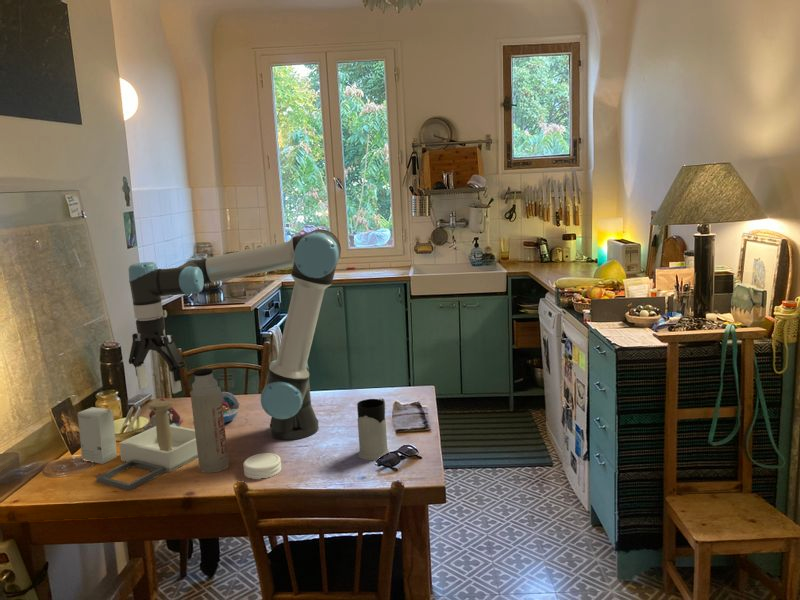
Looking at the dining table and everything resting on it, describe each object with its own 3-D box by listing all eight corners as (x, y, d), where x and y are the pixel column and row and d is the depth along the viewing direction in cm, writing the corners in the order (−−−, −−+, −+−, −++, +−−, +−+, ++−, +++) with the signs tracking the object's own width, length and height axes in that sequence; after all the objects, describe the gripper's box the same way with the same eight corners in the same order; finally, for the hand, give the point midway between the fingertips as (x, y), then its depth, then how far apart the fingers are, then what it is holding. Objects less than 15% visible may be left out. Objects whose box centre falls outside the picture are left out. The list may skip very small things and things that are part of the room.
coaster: (265, 461, 192) (264, 449, 192) (289, 469, 186) (288, 457, 185) (236, 474, 185) (235, 462, 184) (260, 483, 178) (259, 471, 178)
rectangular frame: (165, 472, 188) (164, 466, 188) (129, 490, 178) (128, 485, 178) (133, 464, 194) (132, 459, 194) (96, 482, 184) (96, 477, 184)
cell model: (204, 428, 219) (201, 400, 217) (216, 415, 231) (212, 388, 229) (235, 427, 218) (232, 399, 217) (245, 414, 230) (242, 387, 228)
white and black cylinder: (353, 458, 190) (349, 407, 187) (372, 439, 203) (369, 391, 200) (382, 461, 187) (379, 409, 184) (400, 441, 200) (397, 392, 197)
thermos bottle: (234, 463, 191) (224, 367, 186) (213, 475, 185) (202, 376, 179) (214, 458, 195) (204, 364, 190) (193, 469, 189) (181, 372, 183)
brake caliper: (192, 417, 223) (176, 396, 215) (180, 446, 216) (163, 427, 208) (162, 415, 226) (145, 395, 218) (149, 445, 219) (131, 425, 211)
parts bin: (212, 450, 202) (210, 432, 201) (170, 472, 188) (168, 453, 187) (164, 440, 211) (162, 423, 210) (121, 460, 198) (118, 442, 197)
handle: (163, 447, 203) (157, 399, 200) (180, 450, 200) (174, 401, 197) (151, 454, 198) (145, 405, 195) (169, 456, 196) (163, 407, 193)
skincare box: (82, 461, 198) (74, 413, 196) (98, 453, 204) (91, 406, 201) (104, 464, 195) (96, 415, 193) (119, 456, 201) (112, 408, 198)
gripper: (191, 316, 189) (201, 389, 193) (130, 312, 201) (140, 381, 205) (170, 322, 182) (181, 398, 186) (108, 318, 194) (120, 389, 199)
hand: (160, 389), depth 196 cm, fingers open, 13 cm apart
